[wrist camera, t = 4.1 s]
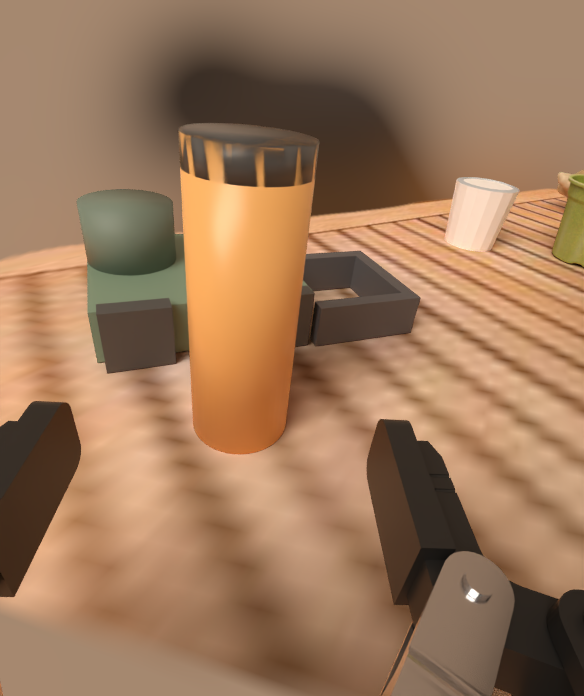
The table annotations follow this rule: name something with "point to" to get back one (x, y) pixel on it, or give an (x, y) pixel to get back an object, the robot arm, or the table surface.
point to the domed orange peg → (243, 275)
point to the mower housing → (171, 297)
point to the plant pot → (572, 225)
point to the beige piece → (565, 182)
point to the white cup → (478, 212)
